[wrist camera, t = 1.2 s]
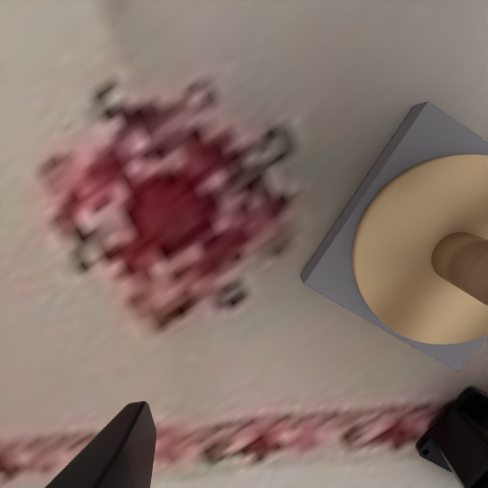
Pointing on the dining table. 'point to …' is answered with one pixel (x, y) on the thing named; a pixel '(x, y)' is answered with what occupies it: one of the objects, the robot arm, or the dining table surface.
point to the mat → (386, 168)
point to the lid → (428, 251)
